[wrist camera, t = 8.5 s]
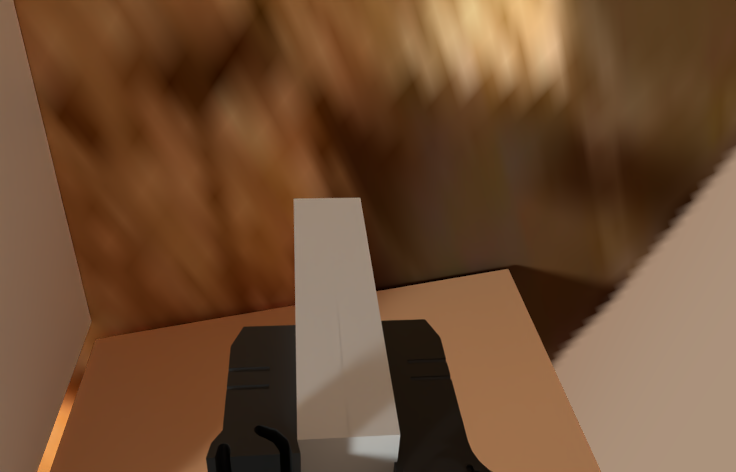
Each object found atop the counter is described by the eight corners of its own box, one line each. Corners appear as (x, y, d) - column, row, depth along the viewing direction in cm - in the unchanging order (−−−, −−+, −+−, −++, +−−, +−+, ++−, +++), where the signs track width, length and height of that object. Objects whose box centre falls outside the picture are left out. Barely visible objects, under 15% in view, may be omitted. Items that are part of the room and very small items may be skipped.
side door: (508, 268, 27) (604, 479, 19) (509, 309, 28) (599, 523, 20) (95, 339, 27) (11, 581, 19) (114, 376, 28) (43, 619, 20)
